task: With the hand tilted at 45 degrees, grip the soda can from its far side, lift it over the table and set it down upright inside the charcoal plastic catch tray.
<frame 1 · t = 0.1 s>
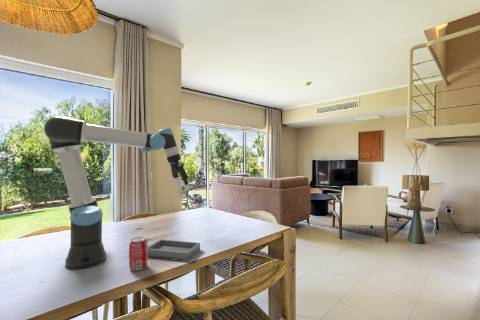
hand: (183, 188, 143), 28 cm above the table, tool tilted 20°, fingers open, 13 cm apart
catch tray: (173, 253, 116), on the table
soda can: (138, 268, 100), on the table
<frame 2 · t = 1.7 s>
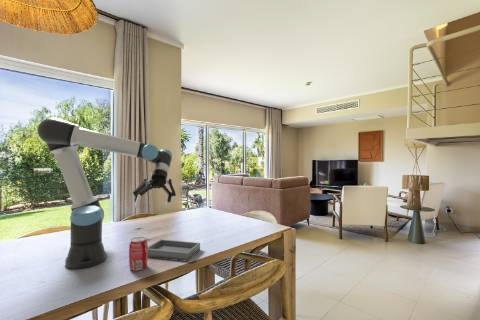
hand: (150, 207, 112), 23 cm above the table, tool tilted 45°, fingers open, 13 cm apart
nothing on the table moved.
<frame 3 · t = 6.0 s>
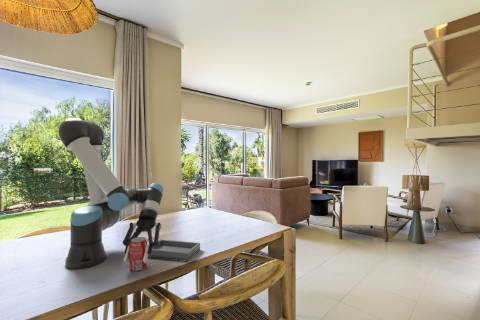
hand: (135, 261, 96), 4 cm above the table, tool tilted 45°, fingers closed on soda can, 7 cm apart
soda can: (138, 268, 100), on the table, touching gripper
when the fingers open (6 cm above the table, at t = 11.6 s): soda can drops 1 cm, resting on catch tray.
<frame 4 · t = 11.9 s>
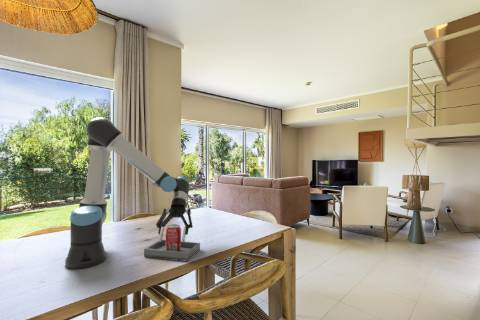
hand: (171, 240, 113), 7 cm above the table, tool tilted 45°, fingers open, 10 cm apart
soda can: (173, 251, 116), point 1 cm above the table, touching catch tray
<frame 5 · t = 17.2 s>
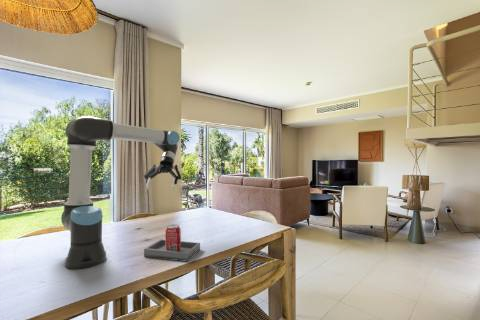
hand: (159, 188, 128), 30 cm above the table, tool tilted 45°, fingers open, 13 cm apart
nothing on the table moved.
at the end: soda can inside the target area on the catch tray (0.0 cm from its centre), point 0.8 cm above the catch tray's base; soda can tilted 0°; the gripper is holding nothing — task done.
